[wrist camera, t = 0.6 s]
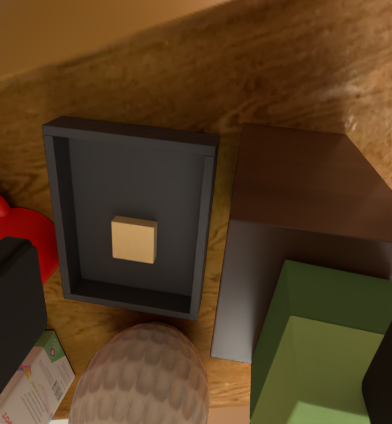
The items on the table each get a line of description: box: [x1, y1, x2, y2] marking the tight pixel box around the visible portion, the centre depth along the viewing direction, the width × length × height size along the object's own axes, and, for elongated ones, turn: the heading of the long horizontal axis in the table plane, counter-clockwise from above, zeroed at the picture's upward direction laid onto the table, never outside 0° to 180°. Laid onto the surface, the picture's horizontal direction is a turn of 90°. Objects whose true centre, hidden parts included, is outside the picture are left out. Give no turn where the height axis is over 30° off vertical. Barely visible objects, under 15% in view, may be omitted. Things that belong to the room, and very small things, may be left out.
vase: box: [68, 322, 209, 424], centre depth 34 cm, size 13×13×17 cm
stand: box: [210, 123, 392, 364], centre depth 23 cm, size 8×8×16 cm
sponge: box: [250, 260, 392, 424], centre depth 13 cm, size 6×4×6 cm
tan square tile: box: [111, 216, 157, 264], centre depth 33 cm, size 4×4×1 cm
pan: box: [42, 116, 220, 321], centre depth 32 cm, size 18×14×3 cm
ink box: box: [0, 331, 75, 424], centre depth 40 cm, size 8×5×12 cm, turn 10°
